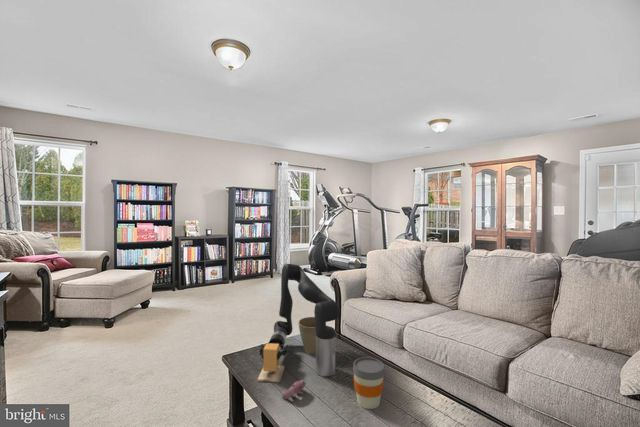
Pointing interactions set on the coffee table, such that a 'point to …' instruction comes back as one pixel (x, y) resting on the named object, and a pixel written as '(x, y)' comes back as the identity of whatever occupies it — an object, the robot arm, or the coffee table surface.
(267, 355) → the tall orange pillar
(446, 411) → the coffee table surface
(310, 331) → the plant pot
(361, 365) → the reusable coffee cup
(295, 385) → the video game controller
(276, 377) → the flat beige base block
